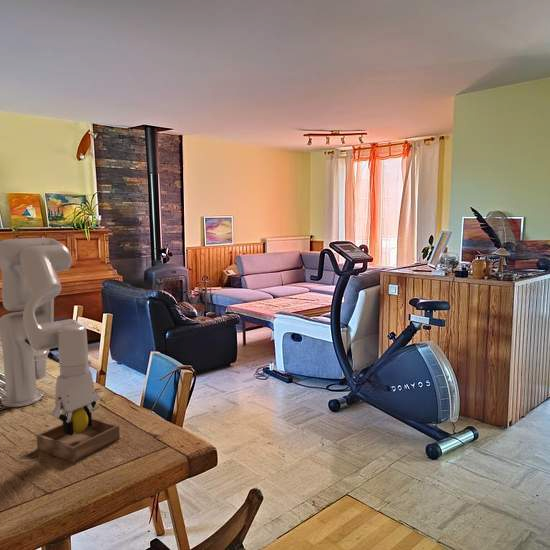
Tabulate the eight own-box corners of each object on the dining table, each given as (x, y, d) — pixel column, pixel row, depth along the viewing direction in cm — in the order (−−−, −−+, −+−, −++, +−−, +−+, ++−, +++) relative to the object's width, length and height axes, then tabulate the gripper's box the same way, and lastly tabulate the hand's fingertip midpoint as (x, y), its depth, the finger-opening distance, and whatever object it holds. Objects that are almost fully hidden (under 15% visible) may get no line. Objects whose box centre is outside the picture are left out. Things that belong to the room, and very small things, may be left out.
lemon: (70, 440, 133) (69, 413, 132) (66, 433, 138) (64, 406, 137) (91, 434, 137) (89, 408, 136) (86, 427, 141) (84, 402, 140)
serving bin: (37, 448, 135) (36, 435, 134) (84, 427, 148) (83, 414, 148) (73, 462, 127) (72, 448, 126) (119, 438, 140) (118, 425, 140)
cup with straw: (28, 374, 197) (24, 327, 194) (52, 371, 200) (49, 324, 198) (27, 381, 189) (23, 331, 186) (52, 377, 193) (49, 329, 190)
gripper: (90, 358, 144) (94, 415, 146) (37, 375, 129) (42, 438, 132) (108, 362, 140) (111, 421, 143) (55, 380, 125) (59, 445, 128)
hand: (78, 429), depth 137 cm, fingers closed on lemon, 5 cm apart
